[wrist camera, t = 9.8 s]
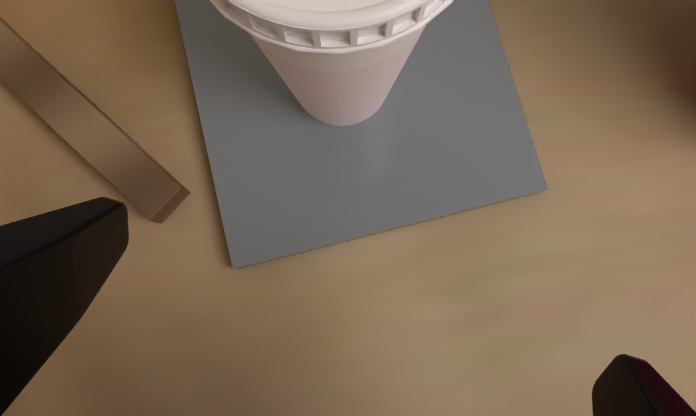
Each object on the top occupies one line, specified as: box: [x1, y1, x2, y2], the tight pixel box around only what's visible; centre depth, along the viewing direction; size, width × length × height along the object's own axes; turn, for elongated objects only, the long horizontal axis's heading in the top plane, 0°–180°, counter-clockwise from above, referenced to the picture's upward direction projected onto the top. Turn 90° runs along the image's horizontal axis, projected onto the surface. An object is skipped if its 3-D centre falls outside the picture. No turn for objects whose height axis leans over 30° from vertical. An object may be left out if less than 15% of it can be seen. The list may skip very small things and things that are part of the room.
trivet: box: [174, 0, 548, 269], centre depth 19 cm, size 12×12×1 cm
